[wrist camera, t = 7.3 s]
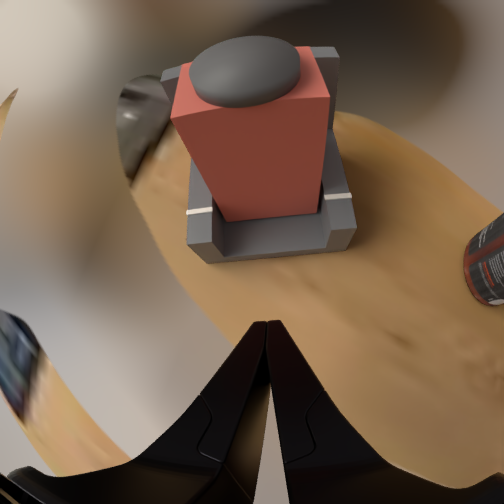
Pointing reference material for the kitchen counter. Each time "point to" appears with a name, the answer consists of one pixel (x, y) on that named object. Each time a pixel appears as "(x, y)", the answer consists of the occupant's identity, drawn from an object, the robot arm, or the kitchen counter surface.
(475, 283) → the supplement bottle
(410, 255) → the kitchen counter surface
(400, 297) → the kitchen counter surface
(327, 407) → the robot arm
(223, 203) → the pink block with dome
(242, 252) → the housing
